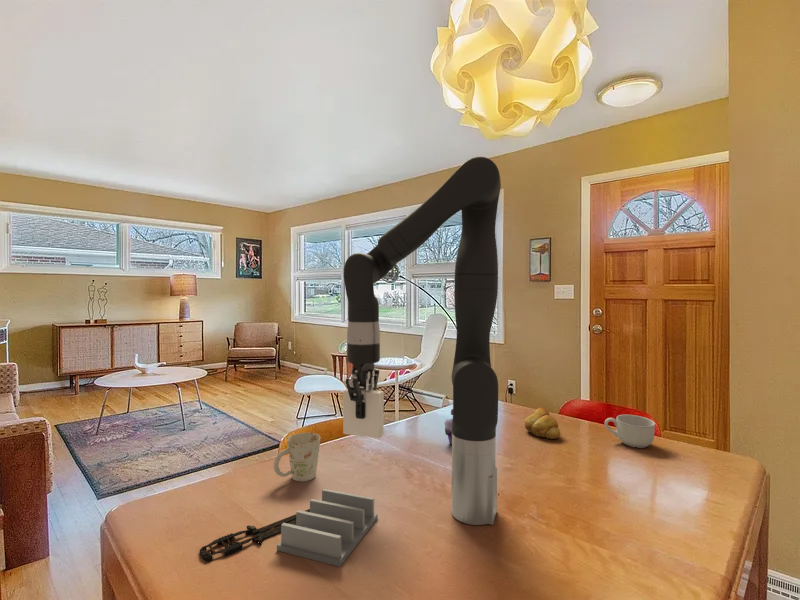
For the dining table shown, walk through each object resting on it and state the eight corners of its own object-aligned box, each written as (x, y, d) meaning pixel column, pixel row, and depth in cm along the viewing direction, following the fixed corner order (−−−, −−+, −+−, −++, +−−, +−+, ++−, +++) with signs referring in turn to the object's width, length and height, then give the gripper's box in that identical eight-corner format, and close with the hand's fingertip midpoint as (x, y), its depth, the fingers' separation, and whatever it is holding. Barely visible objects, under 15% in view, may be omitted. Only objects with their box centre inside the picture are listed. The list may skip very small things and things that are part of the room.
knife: (321, 508, 92) (321, 502, 92) (335, 521, 86) (335, 514, 86) (197, 549, 77) (197, 541, 77) (204, 567, 71) (204, 559, 71)
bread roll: (567, 440, 134) (567, 415, 134) (540, 442, 131) (541, 417, 131) (543, 427, 146) (544, 405, 146) (519, 430, 144) (519, 407, 144)
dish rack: (323, 507, 91) (323, 487, 91) (377, 518, 86) (377, 497, 86) (276, 550, 75) (276, 526, 75) (339, 566, 71) (339, 540, 71)
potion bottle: (441, 439, 134) (441, 402, 134) (467, 438, 135) (467, 402, 135) (447, 449, 125) (447, 410, 125) (474, 448, 126) (475, 409, 126)
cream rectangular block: (348, 430, 97) (348, 388, 97) (383, 434, 94) (383, 391, 94) (343, 433, 95) (343, 390, 95) (379, 438, 92) (379, 393, 92)
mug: (326, 476, 106) (327, 437, 106) (283, 493, 97) (283, 451, 97) (308, 467, 112) (308, 430, 112) (265, 482, 103) (265, 442, 103)
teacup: (655, 442, 132) (655, 417, 132) (654, 453, 123) (654, 426, 123) (606, 434, 139) (606, 411, 139) (602, 444, 130) (603, 419, 130)
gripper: (365, 345, 87) (365, 427, 87) (389, 338, 100) (389, 410, 100) (334, 343, 89) (334, 423, 89) (361, 337, 102) (361, 407, 103)
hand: (363, 416), depth 95 cm, fingers closed on cream rectangular block, 2 cm apart
